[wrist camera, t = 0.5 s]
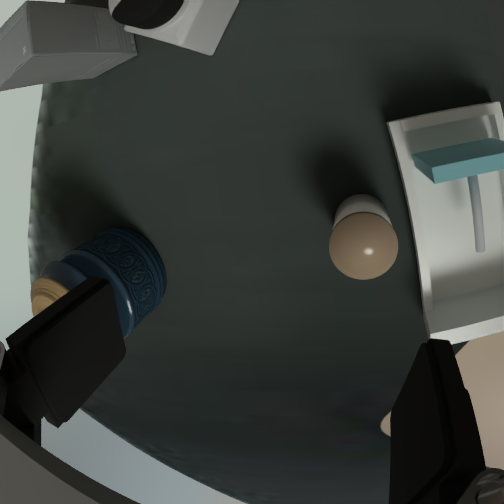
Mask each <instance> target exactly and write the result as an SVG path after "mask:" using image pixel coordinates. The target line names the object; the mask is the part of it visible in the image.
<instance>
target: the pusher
mask: <svg viewBox="0 0 504 504" xmlns="http://www.w3.org/2000/svg"><path fill="white" fill-rule="evenodd" d="M412 157H413V161H414V166H415V167H416V168H417V169H418V170H420V171H421V172H422V173H423V174H424V175H425V176H426V177H428V178H429V179H430V180H431V181H432V182H433V183H434V184H437V183H442V182H446V181H451V180H455V179H460V178H464V177H467V180H468V186H469V193H470V200H471V207H472V215H473V224H474V235H475V248H476V252H478V253H482V252H484V251H485V236H484V224H483V214H482V205H481V197H480V190H479V183H478V176H477V175H478V174H483V173H488V172H493V171H497V170H502V169H504V141H503V140H499V139H494V138H488V139H483V140H477V141H472V142H467V143H462V144H457V145H452V146H447V147H442V148H438V149H433V150H428V151H424V152H419V153H415V154H412Z"/></svg>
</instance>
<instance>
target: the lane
mask: <svg viewBox="0 0 504 504" xmlns="http://www.w3.org/2000/svg"><path fill="white" fill-rule="evenodd" d="M386 124H387V127H388V130H389V134H390V137H391V141H392V144H393V148H394V152H395V155H396V159H397V163H398V167H399V171H400V175H401V179H402V184H403V188H404V192H405V197H406V202H407V206H408V211H409V217H410V222H411V227H412V233H413V239H414V245H415V251H416V257H417V264H418V272H419V280H420V288H421V297H422V307H423V317H424V321H425V325H426V329H427V333H428V338H429V339H431V338H433V339H443V340H449V341H450V343H451V344H455V343H459V342H463V341H467V340H471V339H475V338H479V337H483V336H486V335H489V334H494V333H497V332H501V331H504V169H502V170H497V171H493V172H488V173H483V174H478V175H477V176H478V183H479V190H480V197H481V205H482V214H483V224H484V236H485V251H484V252H482V253H478V252H476V248H475V235H474V224H473V215H472V207H471V200H470V193H469V186H468V180H467V177H464V178H460V179H455V180H451V181H446V182H442V183H437V184H434V183H433V182H432V181H431V180H430V179H429V178H428V177H426V176H425V175H424V174H423V173H422V172H421V171H420V170H418V169H417V168H416V167H415V166H414V161H413V157H412V154H415V153H419V152H424V151H428V150H433V149H438V148H442V147H447V146H452V145H457V144H462V143H467V142H472V141H477V140H483V139H488V138H494V139H499V140H503V141H504V118H503V113H502V109H501V105H500V102H488V103H481V104H475V105H469V106H463V107H458V108H452V109H447V110H441V111H436V112H431V113H426V114H421V115H417V116H412V117H407V118H403V119H398V120H394V121H390V122H386Z"/></svg>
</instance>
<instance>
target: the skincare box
mask: <svg viewBox="0 0 504 504" xmlns="http://www.w3.org/2000/svg"><path fill="white" fill-rule="evenodd" d="M124 27H125V25H124V24H120V23H118V22H116V21H115V20H114V19H113V17H112V16H111V14H110V11H109V9H107V8H100V7H94V6H86V5H78V4H69V3H58V2H45V1H26V2H25V3H24V4H23V5H22V6H21V7H20V8H19V9H18V10H17V11H16V12H15V13H14V14H13V15H12V16H11V17H10V18H9V19H8V20H7V21H6V22H5V24H4V25H3V26H2V27H1V28H0V91H4V90H9V89H15V88H20V87H26V86H32V85H37V84H45V83H53V82H61V81H70V80H80V79H93V78H95V77H96V76H98V75H100V74H102V73H104V72H105V71H107V70H109V69H111V68H113V67H115V66H117V65H119V64H121V63H123V62H125V61H126V60H128V59H130V58H132V57H134V56H136V55H137V49H136V44H135V39H134V34H133V33H131V32H127V31H125V30H124Z"/></svg>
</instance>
